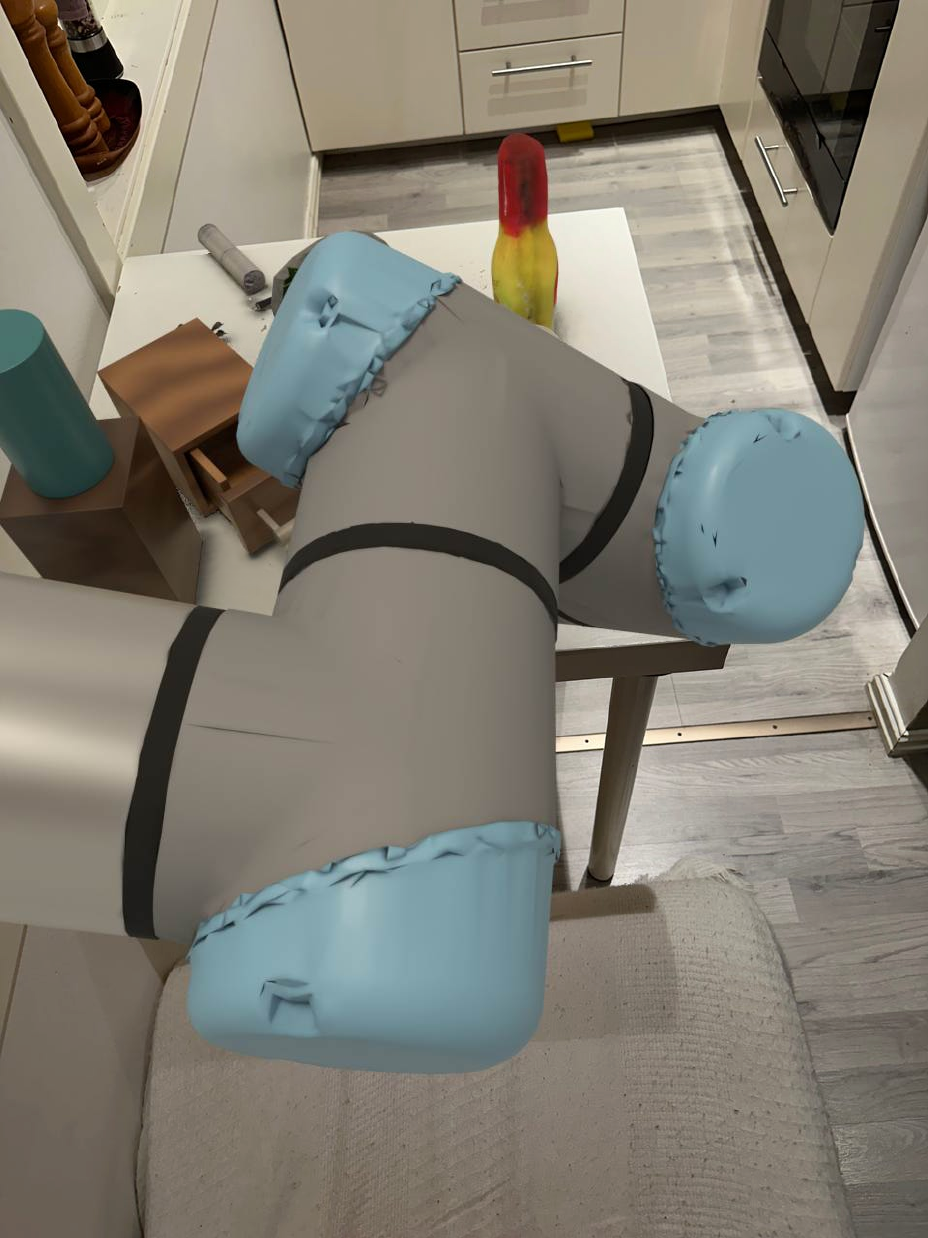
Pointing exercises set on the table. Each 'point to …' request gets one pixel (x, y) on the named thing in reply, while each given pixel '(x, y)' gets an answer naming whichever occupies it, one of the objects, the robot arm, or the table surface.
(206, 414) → the cabinet
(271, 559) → the table surface
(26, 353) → the tin
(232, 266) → the rod
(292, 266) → the potted plant
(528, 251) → the bottle
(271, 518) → the drawer
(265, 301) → the knife
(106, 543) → the plinth
